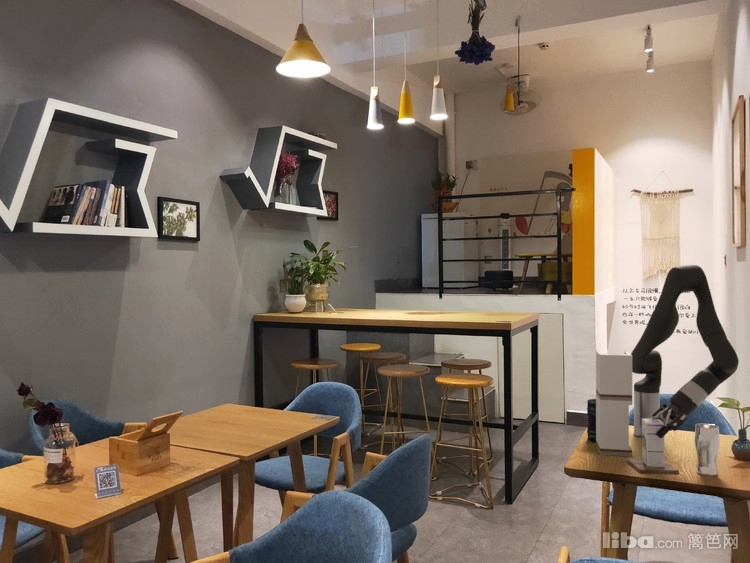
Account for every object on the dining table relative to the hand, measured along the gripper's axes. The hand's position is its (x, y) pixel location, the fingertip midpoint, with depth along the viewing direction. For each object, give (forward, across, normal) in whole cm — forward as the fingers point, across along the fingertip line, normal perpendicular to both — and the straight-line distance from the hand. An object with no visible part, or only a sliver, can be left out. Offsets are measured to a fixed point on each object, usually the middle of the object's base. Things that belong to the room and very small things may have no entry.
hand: (652, 432), depth 202 cm
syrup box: (+8, 0, +7) cm, 11 cm away
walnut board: (+8, 0, +8) cm, 11 cm away
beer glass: (-2, +5, +19) cm, 19 cm away
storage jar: (+13, -32, +3) cm, 35 cm away
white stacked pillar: (+13, -19, +4) cm, 23 cm away
